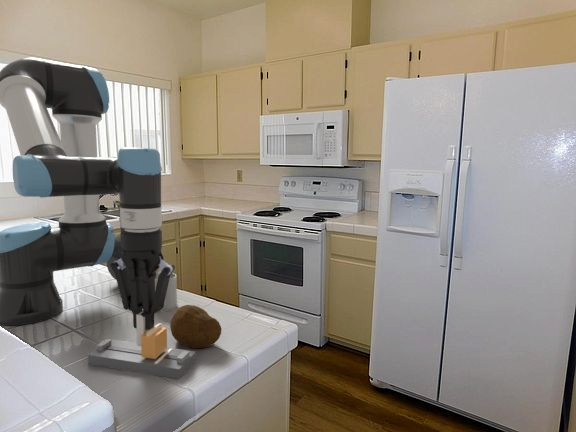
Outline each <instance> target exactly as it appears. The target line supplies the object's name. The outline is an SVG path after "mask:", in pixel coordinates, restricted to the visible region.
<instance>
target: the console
mask: <svg viewBox="0 0 576 432" xmlns="http://www.w3.org/2000/svg"><path fill="white" fill-rule="evenodd" d="M95 348H96V349H94V350H92V351H91V352H89V353H88V354H87V362H88V363H87V364H88V365H92V366H98V367H102V368H111V369H117V370H122V371H129V372H135V373H140V374H147V375H153V376H159V377H164V378H165V377H166V378H170V379H176V380H177V379H178V380H179V379H180V378H182V376H183V375H184V374H186V372H187V371H188V370H189V369H190V368H191V367H192V365H193V364H194V363H195V362H196V360H197V352H196V351H195V350H188V349H180V348H173V347H168V346H167V349H166V350H165V351H164V352H163V353H161V354H160V355H159V356H158V357H157V358H156V359H152V358H145V357H142V355H141V346H137V342H133V341H126V340H119V339H108V338H107V339H104V340H103V341H101V342H100V343H98V344H97V345H96V347H95Z"/></svg>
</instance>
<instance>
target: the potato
mask: <svg viewBox="0 0 576 432" xmlns="http://www.w3.org/2000/svg"><path fill="white" fill-rule="evenodd" d="M169 322H170V333H171V335H172V337H173V338H174V340H175V341H176V342H177V343H178V344H181V345H184V346H187V347H189V348H194V349H204V348H208V347H210V346H212V345H214V344H215V343H216V342H217V341H218V340H219V339H220V337H221V335H222V326H221V324H220V321H219V320H217V318H214V317H212V316H210V315H209V313H208V312H207V311H206V310H205V309H204V308H202V307H199V306H198V305H192V304H185V305H182V306H180V307H179V308H177V309H176V310H175V312H174V313H173V315H172V316H171V320H170V321H169Z"/></svg>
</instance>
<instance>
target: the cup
mask: <svg viewBox="0 0 576 432" xmlns="http://www.w3.org/2000/svg"><path fill="white" fill-rule="evenodd" d="M159 275H160V273H159V272H156V278H155V290H156V285H157V281H158V277H159ZM177 281H178V278H177V274H176V273H174V272H172V274H171V275H170V279H169V284H168V288H167V293H166V297H165V302H164V306H163V308H162V309H161V310H159V311H163V312H167V311H172V310H173V309H175V308H176V307H177V305H178V293H177V291H178V286H177V284H178V282H177ZM171 309H172V310H171ZM159 311H158V312H159Z"/></svg>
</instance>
